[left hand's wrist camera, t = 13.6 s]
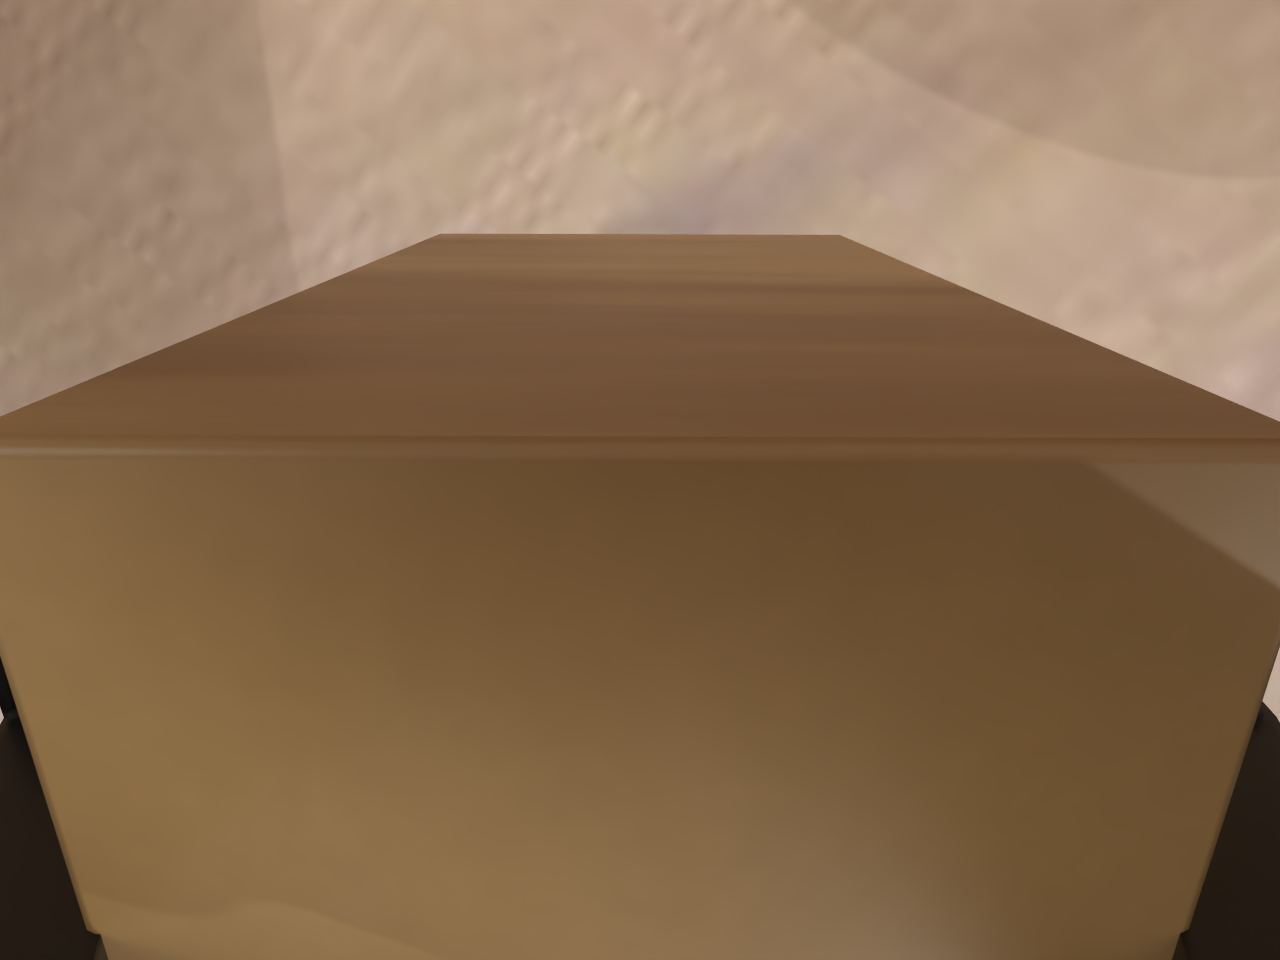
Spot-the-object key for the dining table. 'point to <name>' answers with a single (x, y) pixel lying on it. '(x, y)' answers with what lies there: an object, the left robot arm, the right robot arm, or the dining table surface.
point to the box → (638, 617)
